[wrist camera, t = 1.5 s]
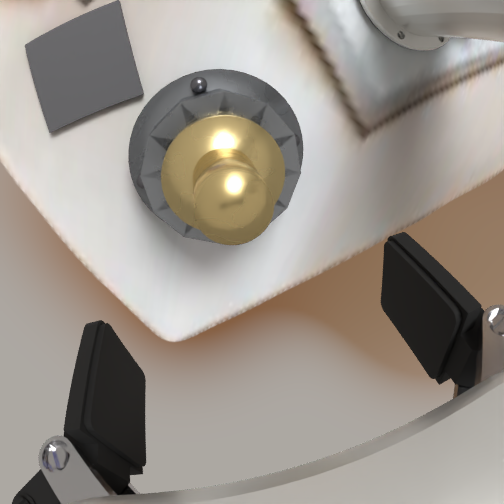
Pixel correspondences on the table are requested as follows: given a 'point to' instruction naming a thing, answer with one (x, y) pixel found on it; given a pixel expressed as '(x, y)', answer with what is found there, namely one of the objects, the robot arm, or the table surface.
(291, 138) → the housing
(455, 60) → the table surface
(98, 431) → the robot arm
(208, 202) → the brass flanged shaft
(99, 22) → the mat
